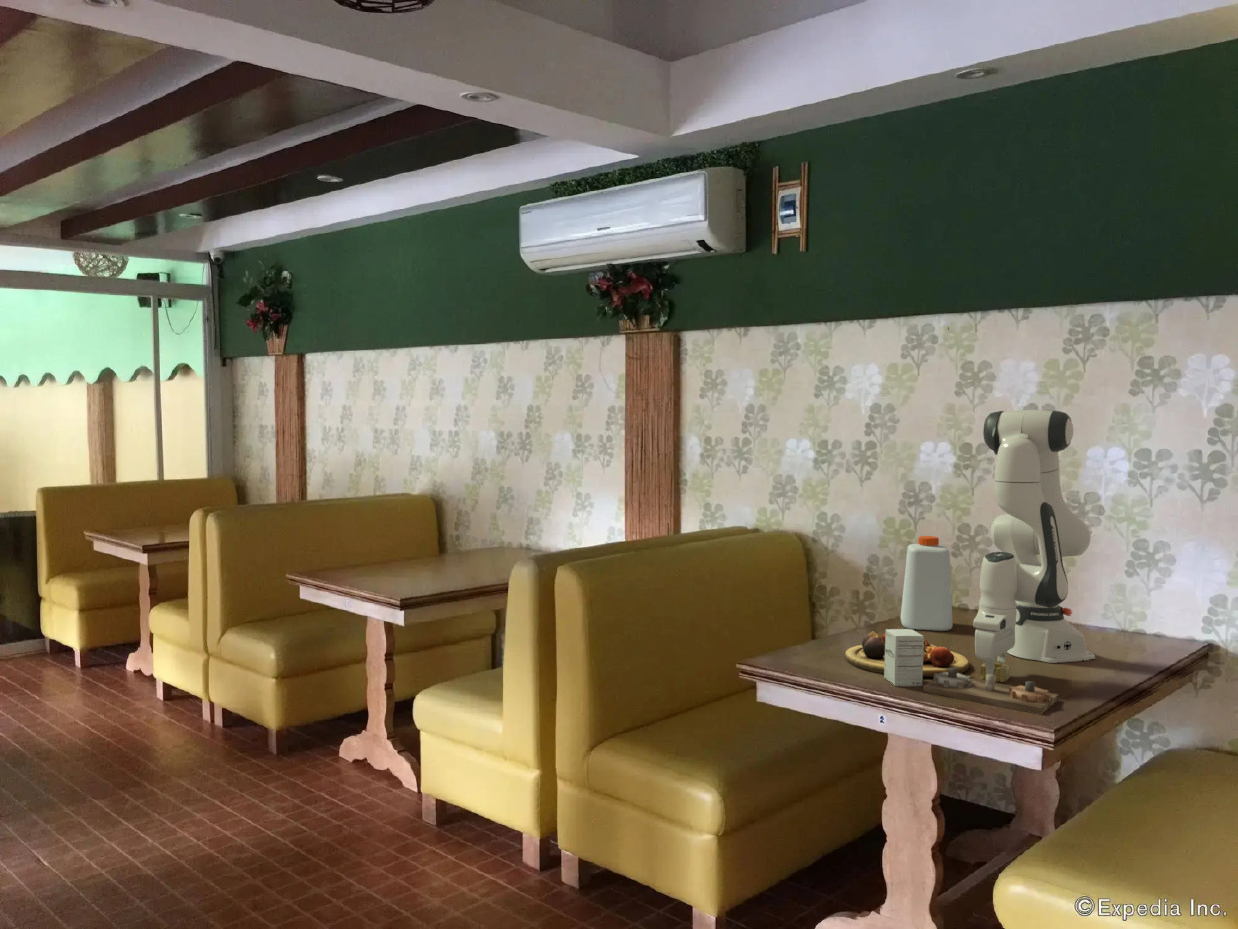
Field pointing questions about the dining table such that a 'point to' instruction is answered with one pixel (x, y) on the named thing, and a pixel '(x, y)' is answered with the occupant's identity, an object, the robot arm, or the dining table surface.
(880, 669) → the wooden plate with food
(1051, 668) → the dining table surface
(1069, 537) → the robot arm
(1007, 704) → the gear board
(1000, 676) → the brass gear
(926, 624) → the plastic bottle
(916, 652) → the supplement box
